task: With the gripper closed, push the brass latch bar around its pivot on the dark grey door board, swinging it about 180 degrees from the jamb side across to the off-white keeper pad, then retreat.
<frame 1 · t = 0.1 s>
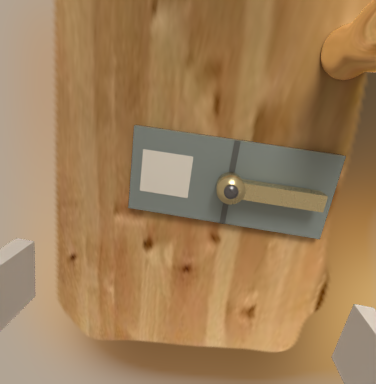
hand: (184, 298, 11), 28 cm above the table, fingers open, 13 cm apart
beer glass: (346, 53, 32), on the table
door board: (229, 181, 38), on the table
latch bar: (269, 194, 34), point 3 cm above the table, hinge at 0.0°
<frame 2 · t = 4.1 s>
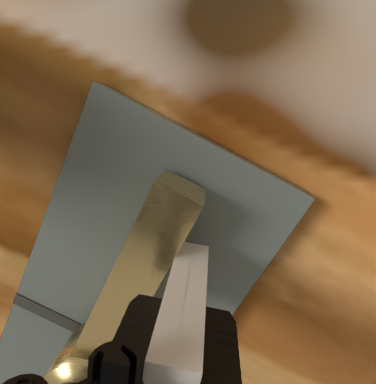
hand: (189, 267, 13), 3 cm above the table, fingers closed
door board: (109, 324, 18), on the table
latch bar: (119, 307, 13), point 4 cm above the table, hinge at 0.2°, touching gripper
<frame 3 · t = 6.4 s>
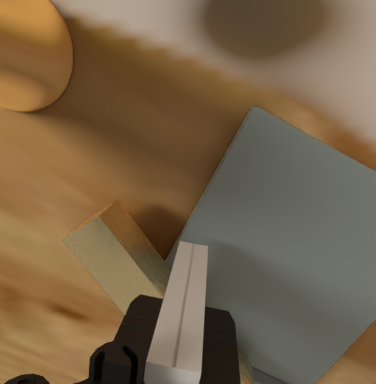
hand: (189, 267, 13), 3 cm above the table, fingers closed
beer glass: (20, 50, 14), on the table
door board: (220, 341, 18), on the table
latch bar: (170, 328, 14), point 3 cm above the table, hinge at 60.6°, touching gripper
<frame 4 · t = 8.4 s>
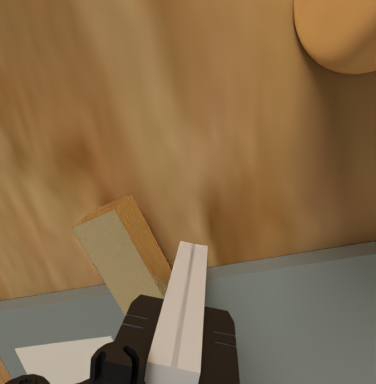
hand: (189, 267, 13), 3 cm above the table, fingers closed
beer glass: (360, 2, 12), on the table
door board: (206, 347, 18), on the table
latch bar: (165, 330, 14), point 4 cm above the table, hinge at 101.5°, touching gripper
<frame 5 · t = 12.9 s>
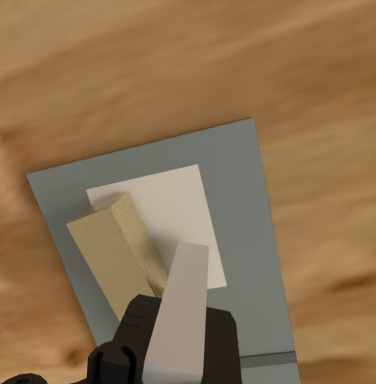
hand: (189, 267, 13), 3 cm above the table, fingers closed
door board: (198, 350, 18), on the table
latch bar: (156, 332, 13), point 4 cm above the table, hinge at 188.3°
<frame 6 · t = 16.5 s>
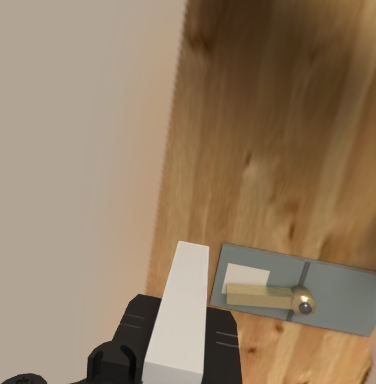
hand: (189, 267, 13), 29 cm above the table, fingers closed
door board: (295, 288, 46), on the table
latch bar: (269, 299, 43), point 4 cm above the table, hinge at 188.3°
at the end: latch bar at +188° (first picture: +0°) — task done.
